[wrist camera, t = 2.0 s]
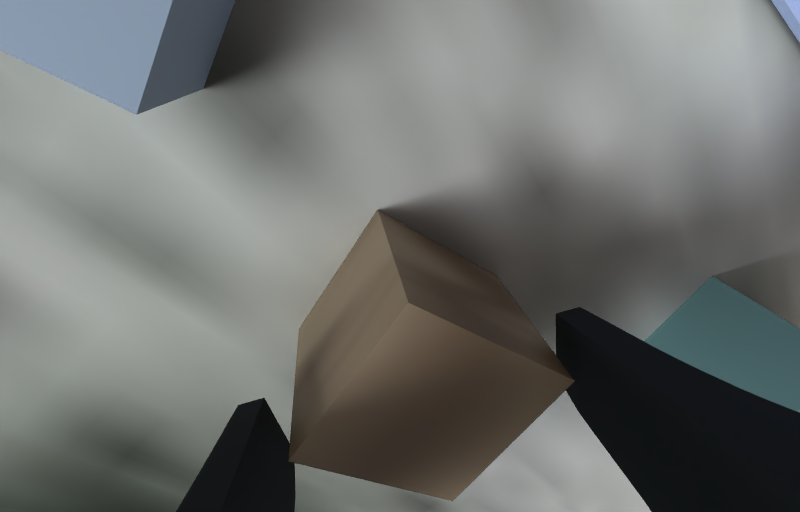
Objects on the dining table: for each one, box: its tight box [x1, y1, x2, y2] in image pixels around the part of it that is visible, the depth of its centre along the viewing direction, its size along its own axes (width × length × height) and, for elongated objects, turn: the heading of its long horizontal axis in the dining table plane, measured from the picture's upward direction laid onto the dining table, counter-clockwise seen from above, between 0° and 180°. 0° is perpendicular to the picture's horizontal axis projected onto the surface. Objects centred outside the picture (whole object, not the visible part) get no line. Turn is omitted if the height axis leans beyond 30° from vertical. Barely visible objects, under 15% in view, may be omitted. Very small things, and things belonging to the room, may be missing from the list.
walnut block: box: [288, 210, 575, 501], centre depth 11 cm, size 5×5×5 cm
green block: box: [644, 276, 800, 413], centre depth 14 cm, size 5×5×5 cm
